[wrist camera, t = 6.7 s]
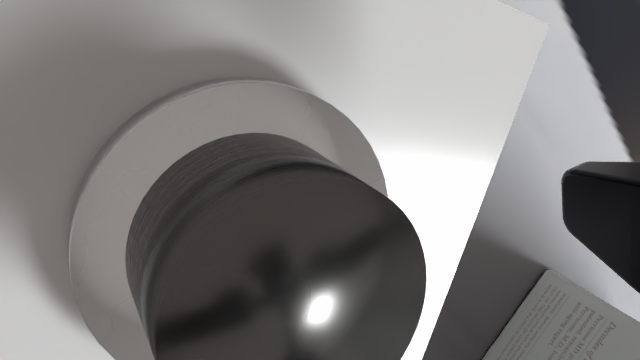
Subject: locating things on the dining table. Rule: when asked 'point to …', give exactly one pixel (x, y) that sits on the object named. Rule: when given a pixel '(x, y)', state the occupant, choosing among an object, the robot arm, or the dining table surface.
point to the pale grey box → (247, 61)
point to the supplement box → (566, 326)
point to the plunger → (243, 233)
